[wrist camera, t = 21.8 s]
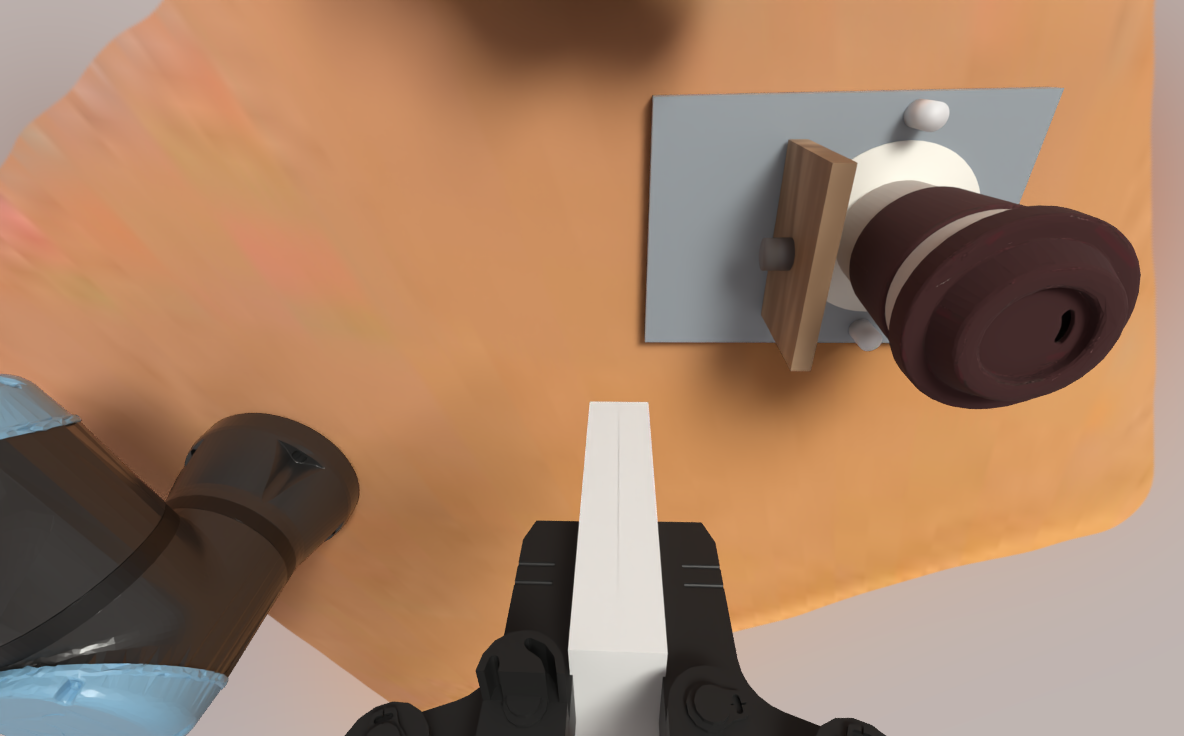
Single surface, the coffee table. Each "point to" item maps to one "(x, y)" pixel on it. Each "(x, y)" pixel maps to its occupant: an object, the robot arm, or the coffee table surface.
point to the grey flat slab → (754, 176)
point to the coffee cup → (987, 290)
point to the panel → (804, 247)
